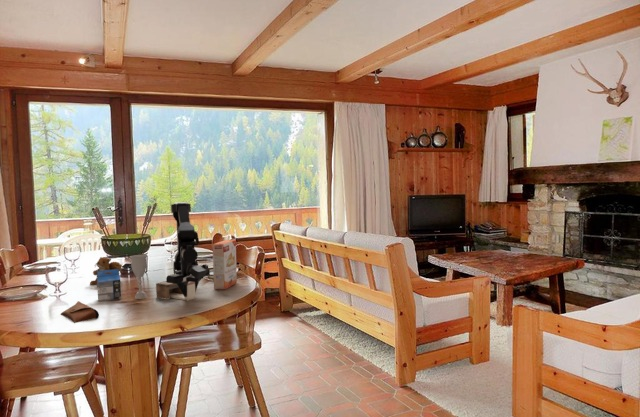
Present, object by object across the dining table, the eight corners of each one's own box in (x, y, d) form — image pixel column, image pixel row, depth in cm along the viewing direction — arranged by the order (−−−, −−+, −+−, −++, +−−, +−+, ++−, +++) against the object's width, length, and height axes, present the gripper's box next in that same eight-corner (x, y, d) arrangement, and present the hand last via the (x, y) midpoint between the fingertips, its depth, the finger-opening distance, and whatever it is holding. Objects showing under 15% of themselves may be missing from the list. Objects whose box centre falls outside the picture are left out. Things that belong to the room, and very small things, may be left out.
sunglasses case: (58, 313, 173) (66, 297, 175) (75, 318, 178) (84, 302, 180) (75, 323, 161) (84, 305, 163) (93, 328, 165) (102, 311, 167)
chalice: (153, 295, 196) (150, 254, 195) (142, 300, 190) (139, 257, 188) (139, 294, 198) (137, 254, 197) (128, 299, 192) (125, 257, 191)
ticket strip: (164, 296, 195) (163, 280, 194) (172, 294, 198) (171, 278, 198) (188, 300, 187) (187, 283, 186) (195, 298, 190) (195, 281, 190)
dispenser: (156, 297, 194) (155, 283, 193) (173, 292, 201) (172, 279, 201) (167, 299, 190) (166, 285, 190) (184, 294, 197) (183, 280, 197)
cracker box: (225, 290, 203) (223, 244, 202) (213, 289, 204) (211, 243, 203) (238, 282, 217) (236, 239, 215) (226, 282, 218) (224, 239, 217)
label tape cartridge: (98, 301, 189) (96, 272, 188) (98, 299, 192) (96, 271, 192) (121, 298, 193) (119, 270, 192) (120, 296, 196) (119, 268, 196)
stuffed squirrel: (88, 285, 220) (86, 258, 220) (111, 279, 234) (109, 253, 233) (103, 286, 217) (101, 259, 216) (126, 280, 230) (124, 254, 229)
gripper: (183, 264, 176) (185, 303, 177) (218, 256, 191) (219, 292, 192) (164, 262, 182) (166, 300, 183) (199, 254, 197) (201, 289, 198)
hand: (189, 295), depth 189 cm, fingers closed on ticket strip, 4 cm apart
